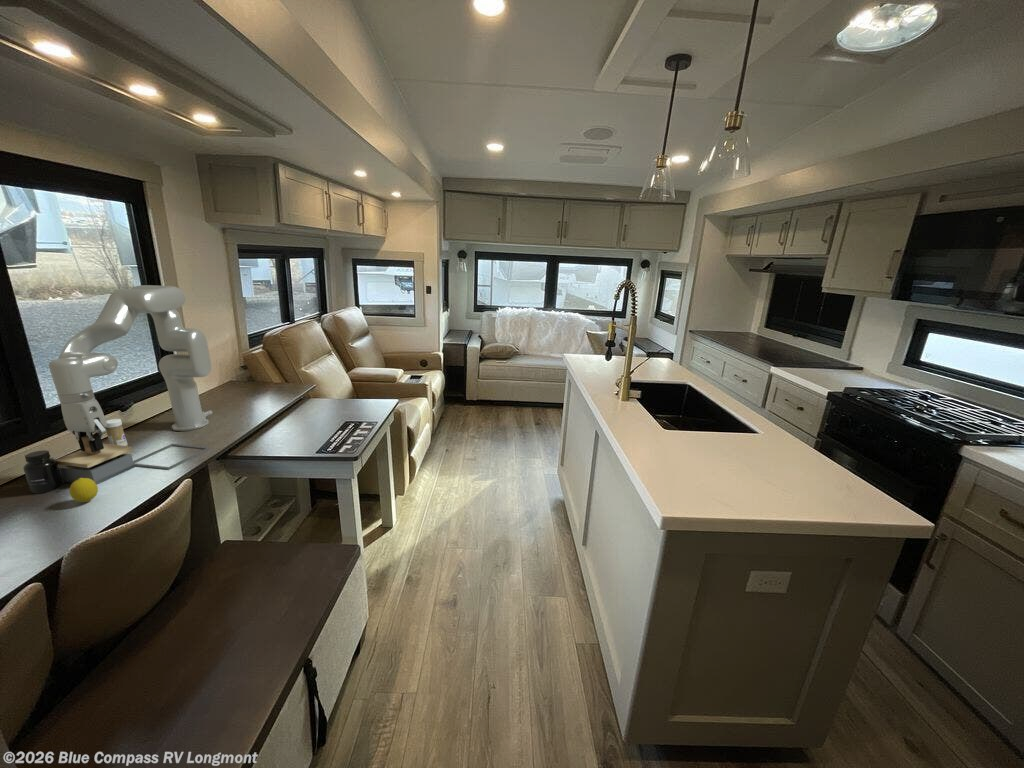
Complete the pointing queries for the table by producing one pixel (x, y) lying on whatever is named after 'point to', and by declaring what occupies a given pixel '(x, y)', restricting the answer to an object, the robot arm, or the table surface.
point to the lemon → (83, 490)
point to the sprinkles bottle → (116, 433)
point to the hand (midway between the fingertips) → (92, 449)
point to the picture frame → (174, 464)
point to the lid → (92, 455)
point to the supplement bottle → (42, 472)
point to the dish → (99, 469)
